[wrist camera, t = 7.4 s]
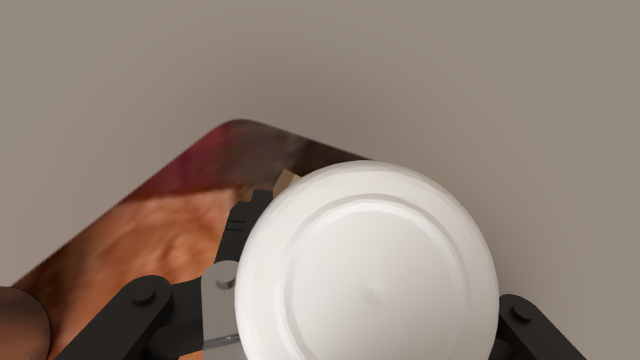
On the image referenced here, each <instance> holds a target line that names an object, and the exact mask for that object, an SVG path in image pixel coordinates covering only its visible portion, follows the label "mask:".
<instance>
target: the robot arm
mask: <svg viewBox="0 0 640 360" xmlns="http://www.w3.org/2000/svg"><path fill="white" fill-rule="evenodd" d="M272 201H273V190H260V189H254V191H253V195H252V199H251V202H240V201H239V202H238V203H237V204H236V205H235V206H234V207H233V208H232V209H231V210H230V213H229V216H228V219H227V223H226V226H225V230H224V232H223V235H222V239H221V242H220V245H219V248H218V252H217V255H216V258H215V261H214V264H213V265H211V266H210V267H209V268H208V269H207V270H206V271H205V272H204V274H203V275H202V276H201V277H199V278H196V279H194V280H191V281H187V282H182V283H178V284H173V285H170V283H169V282H168V281H167V280H166V279H165V278H163V277H161V276H156V275H148V276H143V277H139V278H137V279H134V280H132V281H131V282H129V283H128V284H126V285H125V286H124V287H123V288H122V289H121V290H120V291H119V292H118V293H117V294H116V295H115V296H114V297H113V298H112V299H111V300H110V301H109V302H108V303H107V305H106V306H105V307H104V308H103V309H102V310H101V311H100V312H99V313H98V314H97V315H96V316H95V317H94V318H93V319H92V320H91V321H90V322H89V323H88V324H87V325H86V326H85V327H84V328H83V330H82V331H81V332H80V333H79V334H78V335H77V336H76V337H75V338H74V339H73V340H72V341H71V342H70V343H69V344H68V345H67V346H66V347H65V348H64V349H63V350H62V351H61V352H60V353H59V355H58V356H57V357H56V358H55V359H54V360H178V359H179V357H180V356H183V355H186V354H190V353H193V352H196V351H200V350H203V360H248V359H247V356H246V354H245V352H244V349H243V346H242V343H241V340H240V336H239V331H238V327H237V321H236V313H235V284H236V276H237V270H238V265H239V261H240V258H241V255H242V252H243V249H244V246H245V243H246V241H247V239H248V237H249V234H250V232H251V230H252V229H253V227H254V225H255V224H256V222H257V220H258V219H259V217H260V216H261V215H262V213H263V212H264V211H265V209H266V208H267V206H268V205H269V204H270V203H271V202H272ZM50 338H51V332H50V323H49V320H48V317H47V315H46V312H45V310H44V309H43V307H42V306H41V305H40V303H39V302H38V301H37V300H36V299H35V298H34V297H32V296H31V295H30V294H28V293H26V292H24V291H22V290H20V289H16V288H12V287H1V286H0V360H46V358H47V354H48V351H49V348H50ZM488 360H586V358H585V357H584V356H583V355H582V354H581V353H580V352H579V351H578V350H577V349H576V348H575V347H574V346H573V345H572V344H571V343H570V342H569V341H568V340H567V339H566V338H565V336H564V335H563V334H562V333H561V332H560V331H559V330H558V329H557V328H556V327H555V326H554V325H553V324H552V323H551V322H550V321H549V320H548V318H547V317H546V316H545V315H544V314H543V313H542V312H541V311H540V310H539V309H538V308H537V307H536V306H535V305H533V304H532V303H531V302H529V301H528V300H526V299H524V298H522V297H520V296H517V295H512V294H505V295H502V296H500V297H499V314H498V326H497V331H496V336H495V340H494V344H493V347H492V349H491V352H490V355H489V357H488Z"/></svg>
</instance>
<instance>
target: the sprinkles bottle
mask: <svg viewBox="0 0 640 360" xmlns="http://www.w3.org/2000/svg"><path fill="white" fill-rule="evenodd" d="M235 313H236V321H237V327H238V331H239V336H240V340H241V343H242V346H243V349H244V352H245V354H246V356H247V359H248V360H488V357H489V355H490V352H491V349H492V347H493V344H494V340H495V336H496V331H497V326H498V314H499V289H498V281H497V276H496V272H495V267H494V263H493V260H492V257H491V254H490V250H489V248H488V246H487V244H486V242H485V239H484V237H483V235H482V233H481V231H480V230H479V228H478V226H477V225H476V223H475V221H474V220H473V218H472V217H471V216H470V214H469V213H468V212H467V210H466V209H465V208H464V207H463V206H462V205H461V204H460V203H459V202H458V200H457V199H456V198H455V197H454V196H453V195H452V194H451V193H449V192H448V191H447V190H445V189H444V188H443V187H441V186H440V185H439V184H437V183H436V182H434V181H433V180H431V179H429V178H428V177H426V176H424V175H422V174H421V173H418V172H416V171H413V170H411V169H409V168H405V167H402V166H399V165H395V164H390V163H386V162H380V161H370V160H358V161H349V162H344V163H338V164H334V165H330V166H327V167H324V168H321V169H318V170H316V171H314V172H312V173H310V174H308V175H306V176H304V177H302V178H300V179H299V180H297V181H295V182H294V183H293V184H291V185H290V186H289V187H287V188H286V189H285V190H284V191H282V192H281V193H280V194H279V195H278V196H277V197H276V198H275V199H274V200H273V201H272V202H271V203H270V204H269V205H268V206H267V208H266V209H265V211H264V212H263V213H262V215H261V216H260V217H259V219H258V220H257V222H256V224H255V225H254V227H253V229H252V230H251V232H250V234H249V237H248V239H247V241H246V243H245V246H244V249H243V252H242V255H241V258H240V261H239V265H238V270H237V276H236V284H235Z"/></svg>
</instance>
